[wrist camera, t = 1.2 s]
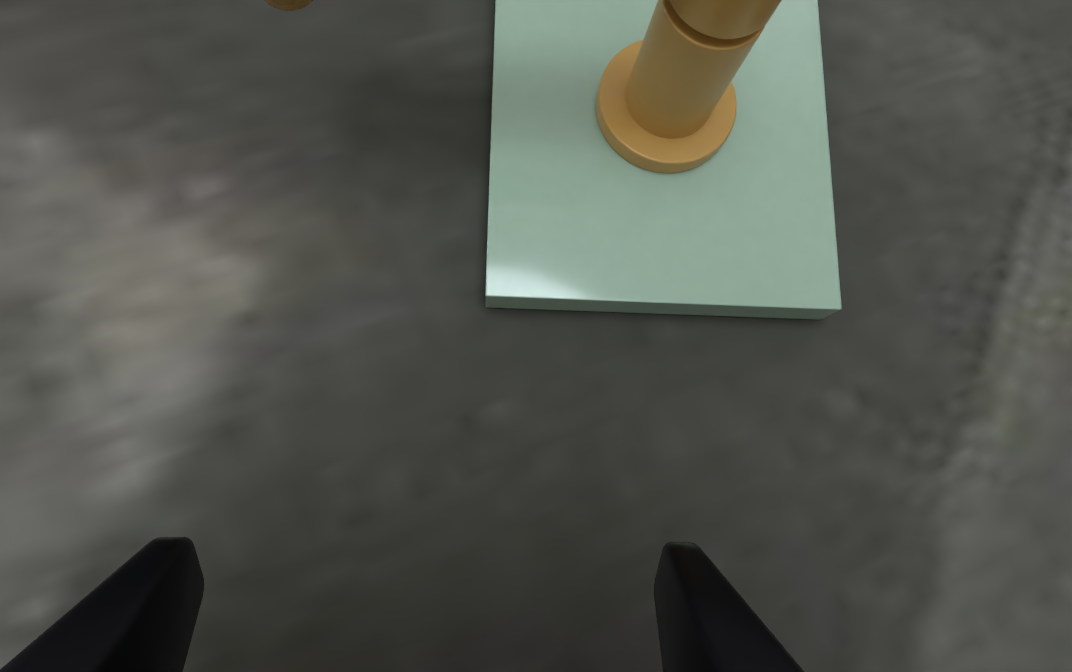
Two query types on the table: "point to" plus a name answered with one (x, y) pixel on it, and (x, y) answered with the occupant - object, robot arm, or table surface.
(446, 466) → the table surface
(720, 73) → the tap column
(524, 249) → the tap deck
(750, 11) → the spout
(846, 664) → the table surface
